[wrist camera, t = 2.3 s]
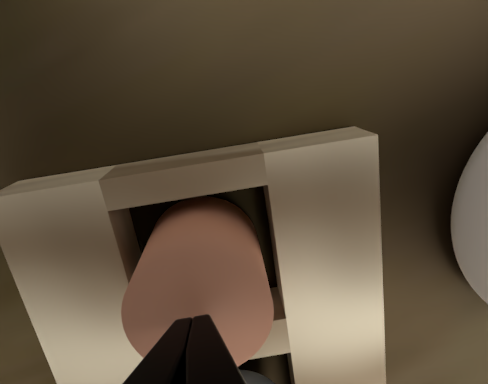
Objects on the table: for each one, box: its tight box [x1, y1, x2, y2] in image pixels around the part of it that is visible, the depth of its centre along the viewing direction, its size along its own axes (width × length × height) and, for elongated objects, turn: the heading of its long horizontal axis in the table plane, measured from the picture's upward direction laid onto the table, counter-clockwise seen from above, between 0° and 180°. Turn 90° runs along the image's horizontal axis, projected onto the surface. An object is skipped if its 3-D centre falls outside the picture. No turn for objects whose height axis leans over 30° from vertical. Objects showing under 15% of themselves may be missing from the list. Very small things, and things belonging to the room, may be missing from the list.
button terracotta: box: [121, 196, 274, 367], centre depth 11 cm, size 4×4×4 cm
